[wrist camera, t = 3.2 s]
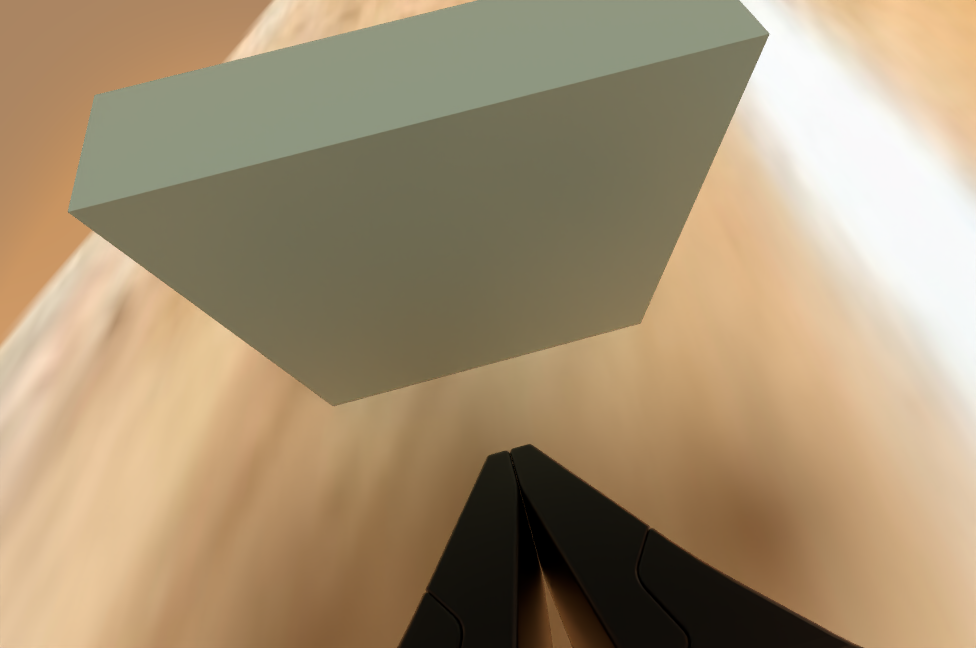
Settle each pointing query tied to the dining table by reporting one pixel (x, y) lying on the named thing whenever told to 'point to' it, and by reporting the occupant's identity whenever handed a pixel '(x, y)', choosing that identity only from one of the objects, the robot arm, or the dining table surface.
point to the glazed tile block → (425, 181)
